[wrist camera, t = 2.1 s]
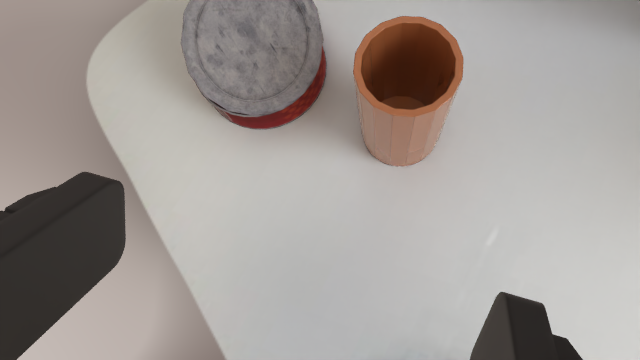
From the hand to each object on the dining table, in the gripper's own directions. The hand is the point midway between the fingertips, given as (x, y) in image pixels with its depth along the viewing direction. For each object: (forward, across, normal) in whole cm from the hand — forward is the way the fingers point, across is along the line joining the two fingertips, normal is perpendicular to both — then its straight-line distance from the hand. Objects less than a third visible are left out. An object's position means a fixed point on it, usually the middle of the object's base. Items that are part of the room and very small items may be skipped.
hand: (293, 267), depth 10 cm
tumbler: (+26, -1, +6) cm, 27 cm away
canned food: (+28, +10, +5) cm, 30 cm away
